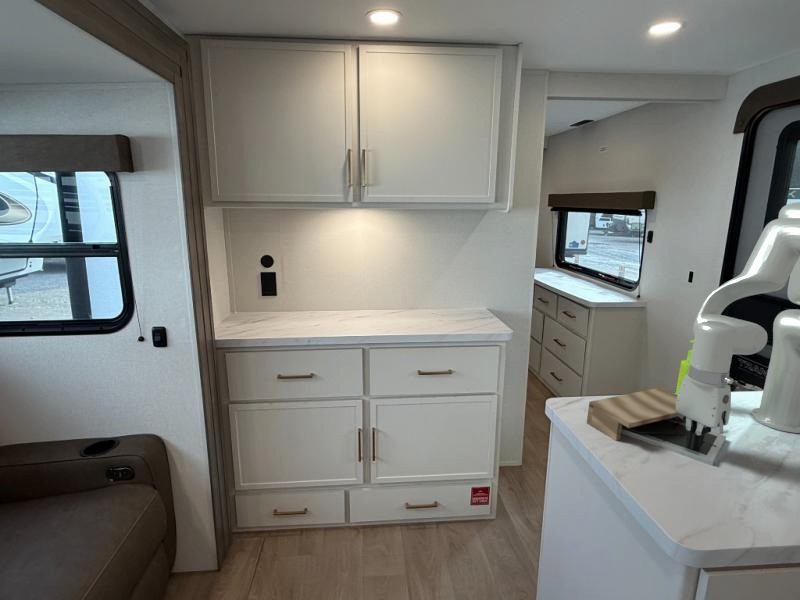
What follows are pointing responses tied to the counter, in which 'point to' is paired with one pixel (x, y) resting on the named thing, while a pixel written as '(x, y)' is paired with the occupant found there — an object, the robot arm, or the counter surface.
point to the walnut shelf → (631, 411)
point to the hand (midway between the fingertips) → (693, 446)
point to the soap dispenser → (684, 369)
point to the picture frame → (677, 439)
